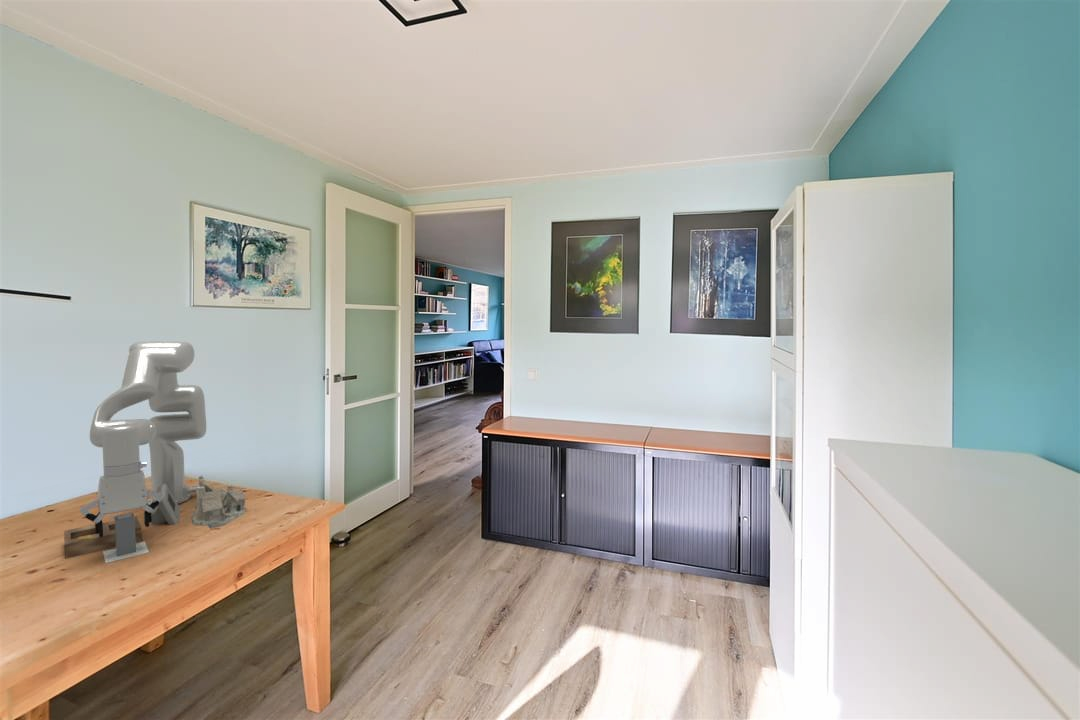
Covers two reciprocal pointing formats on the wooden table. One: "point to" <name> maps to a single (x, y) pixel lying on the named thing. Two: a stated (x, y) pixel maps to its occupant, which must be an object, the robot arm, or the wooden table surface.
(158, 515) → the digital clock
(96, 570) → the wooden table surface
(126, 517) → the plug
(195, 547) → the wooden table surface
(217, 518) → the ceramic cottage
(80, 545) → the socket block
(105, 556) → the tray
